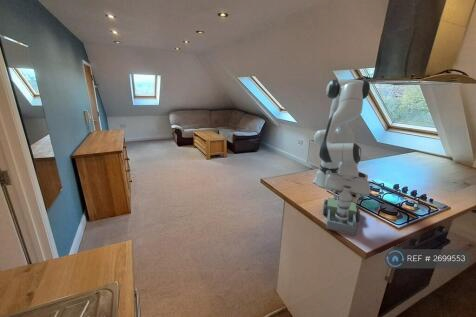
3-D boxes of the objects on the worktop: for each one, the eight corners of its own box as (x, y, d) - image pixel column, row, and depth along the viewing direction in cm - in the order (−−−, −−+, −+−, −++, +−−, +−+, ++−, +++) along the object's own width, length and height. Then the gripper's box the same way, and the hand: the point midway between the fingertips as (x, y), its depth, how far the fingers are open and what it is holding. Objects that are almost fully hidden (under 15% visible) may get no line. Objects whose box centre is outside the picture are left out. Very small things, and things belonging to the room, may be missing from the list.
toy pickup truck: (323, 205, 129) (325, 196, 127) (356, 211, 123) (358, 202, 121) (321, 227, 109) (323, 217, 107) (360, 236, 103) (363, 225, 101)
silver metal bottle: (332, 224, 111) (338, 187, 104) (335, 217, 116) (341, 182, 109) (346, 228, 107) (353, 191, 101) (348, 221, 113) (355, 186, 106)
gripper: (326, 169, 113) (322, 194, 108) (371, 175, 106) (370, 203, 101) (325, 174, 119) (321, 198, 113) (368, 180, 111) (367, 207, 106)
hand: (344, 201), depth 107 cm, fingers open, 7 cm apart
